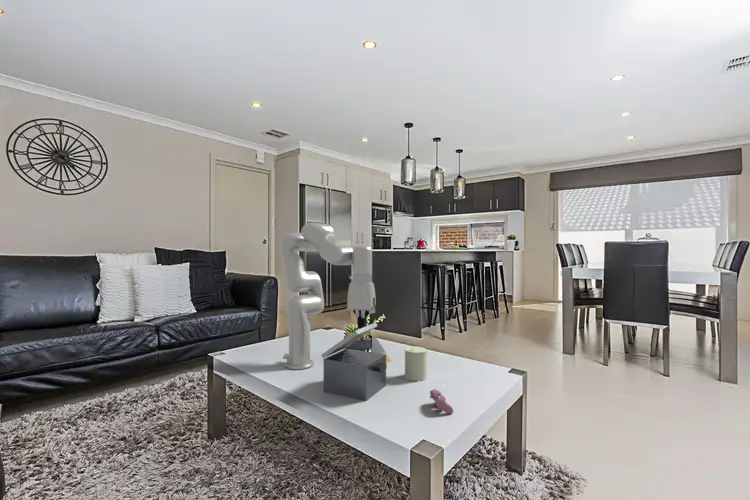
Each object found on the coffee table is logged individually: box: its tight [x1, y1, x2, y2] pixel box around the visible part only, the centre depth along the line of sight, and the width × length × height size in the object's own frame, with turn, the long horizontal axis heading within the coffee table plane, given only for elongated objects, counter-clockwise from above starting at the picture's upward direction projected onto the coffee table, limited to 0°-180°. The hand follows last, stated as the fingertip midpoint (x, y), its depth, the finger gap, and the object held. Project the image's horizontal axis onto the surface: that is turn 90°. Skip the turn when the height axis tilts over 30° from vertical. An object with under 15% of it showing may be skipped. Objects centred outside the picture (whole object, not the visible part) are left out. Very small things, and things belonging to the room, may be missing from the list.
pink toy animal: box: [429, 388, 454, 415], centre depth 120 cm, size 10×5×7 cm, turn 6°
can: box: [403, 346, 428, 382], centre depth 149 cm, size 9×9×12 cm
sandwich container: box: [372, 331, 392, 364], centre depth 172 cm, size 9×15×15 cm, turn 49°
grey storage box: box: [322, 348, 388, 402], centre depth 136 cm, size 21×16×12 cm
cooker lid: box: [321, 322, 378, 359], centre depth 138 cm, size 18×16×3 cm
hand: (361, 327), depth 135 cm, fingers closed
